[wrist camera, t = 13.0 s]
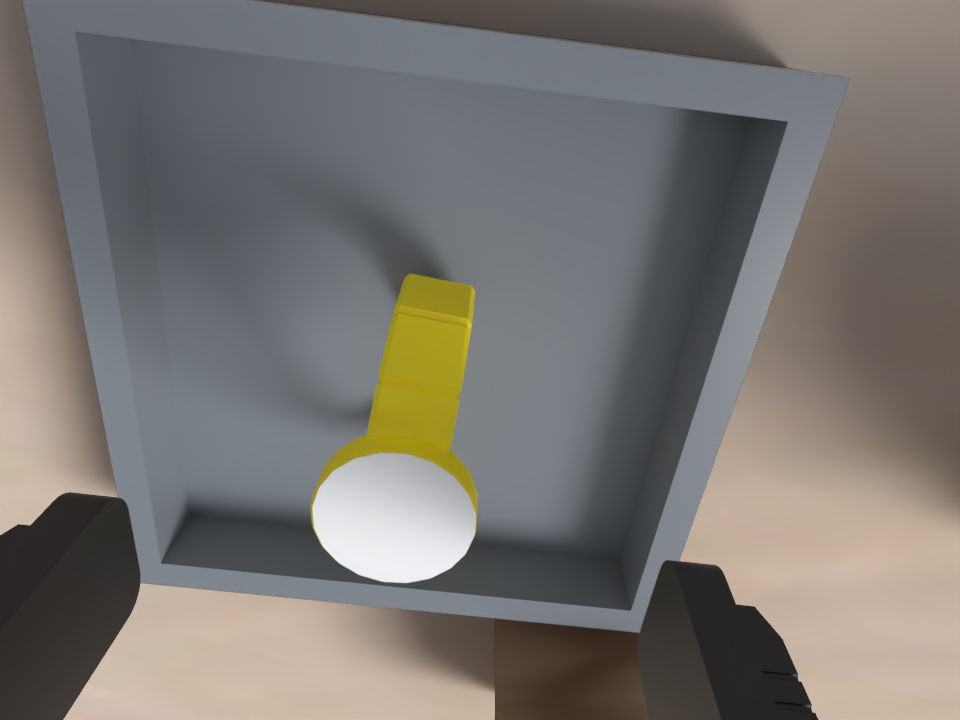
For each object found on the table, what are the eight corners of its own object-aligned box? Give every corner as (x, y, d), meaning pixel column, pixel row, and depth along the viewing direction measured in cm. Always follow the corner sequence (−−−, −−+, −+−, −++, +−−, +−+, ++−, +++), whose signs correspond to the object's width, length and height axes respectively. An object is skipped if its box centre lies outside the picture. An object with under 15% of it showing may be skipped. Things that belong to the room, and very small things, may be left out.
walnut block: (651, 583, 20) (694, 739, 16) (655, 685, 23) (693, 845, 18) (495, 597, 21) (494, 753, 16) (514, 695, 23) (518, 855, 19)
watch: (387, 236, 15) (329, 330, 9) (506, 260, 15) (518, 367, 9) (354, 456, 17) (292, 635, 12) (457, 474, 17) (444, 659, 12)
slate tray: (789, 68, 13) (849, 78, 11) (635, 562, 20) (653, 634, 18) (102, -21, 13) (16, -30, 11) (176, 515, 19) (133, 582, 17)
